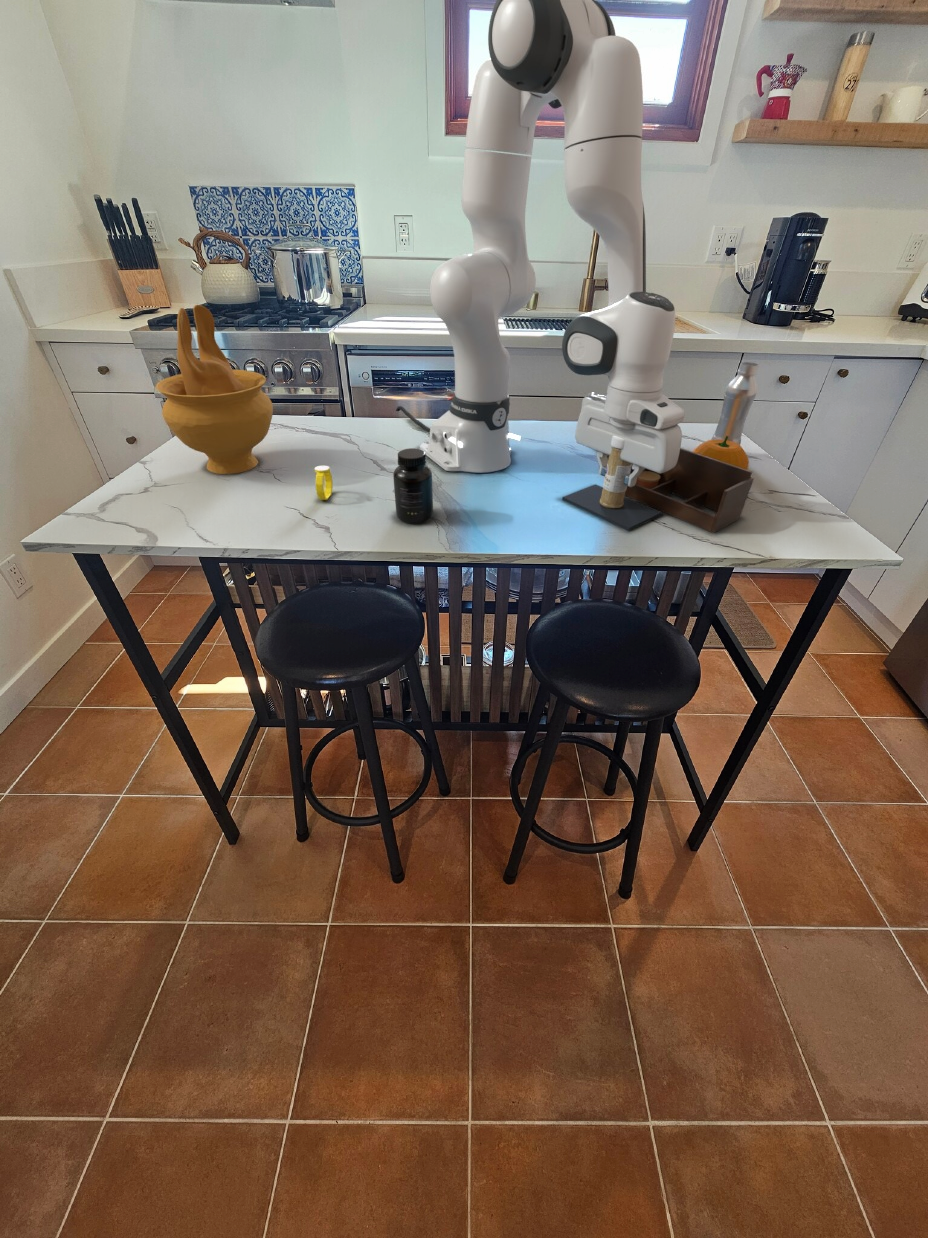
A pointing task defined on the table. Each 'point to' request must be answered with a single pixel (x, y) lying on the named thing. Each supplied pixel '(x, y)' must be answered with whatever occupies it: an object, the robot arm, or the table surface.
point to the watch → (321, 474)
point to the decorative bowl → (214, 400)
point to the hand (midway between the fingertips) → (616, 480)
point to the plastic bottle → (737, 403)
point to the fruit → (724, 452)
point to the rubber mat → (624, 516)
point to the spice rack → (698, 491)
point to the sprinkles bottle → (615, 476)
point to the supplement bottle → (413, 487)
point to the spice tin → (648, 479)
